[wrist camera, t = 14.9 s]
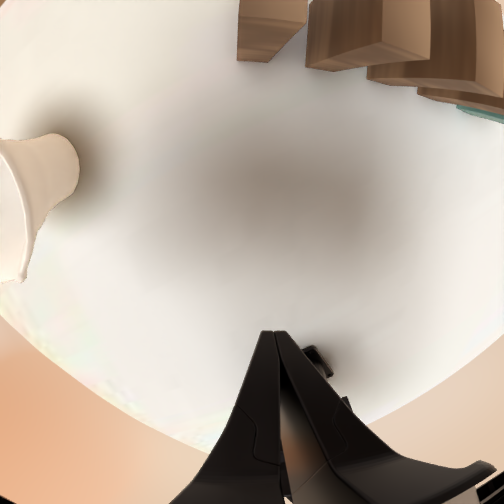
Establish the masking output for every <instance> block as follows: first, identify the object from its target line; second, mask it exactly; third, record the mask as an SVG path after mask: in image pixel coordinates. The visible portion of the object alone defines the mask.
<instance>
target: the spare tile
mask: <svg viewBox="0 0 504 504" xmlns="http://www.w3.org/2000/svg"><path fill="white" fill-rule="evenodd" d="M456 108H458V109H460V110H462V111H464V112H466V113H468V114H470V115H473V116H477V117H481V118H485V119H488V120H492V121H495V122H499V123H502V124H504V115H501V114H497V113H493V112H489V111H485V110H481V109H476V108H472V107H467V106H462V105H457V107H456Z"/></svg>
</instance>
